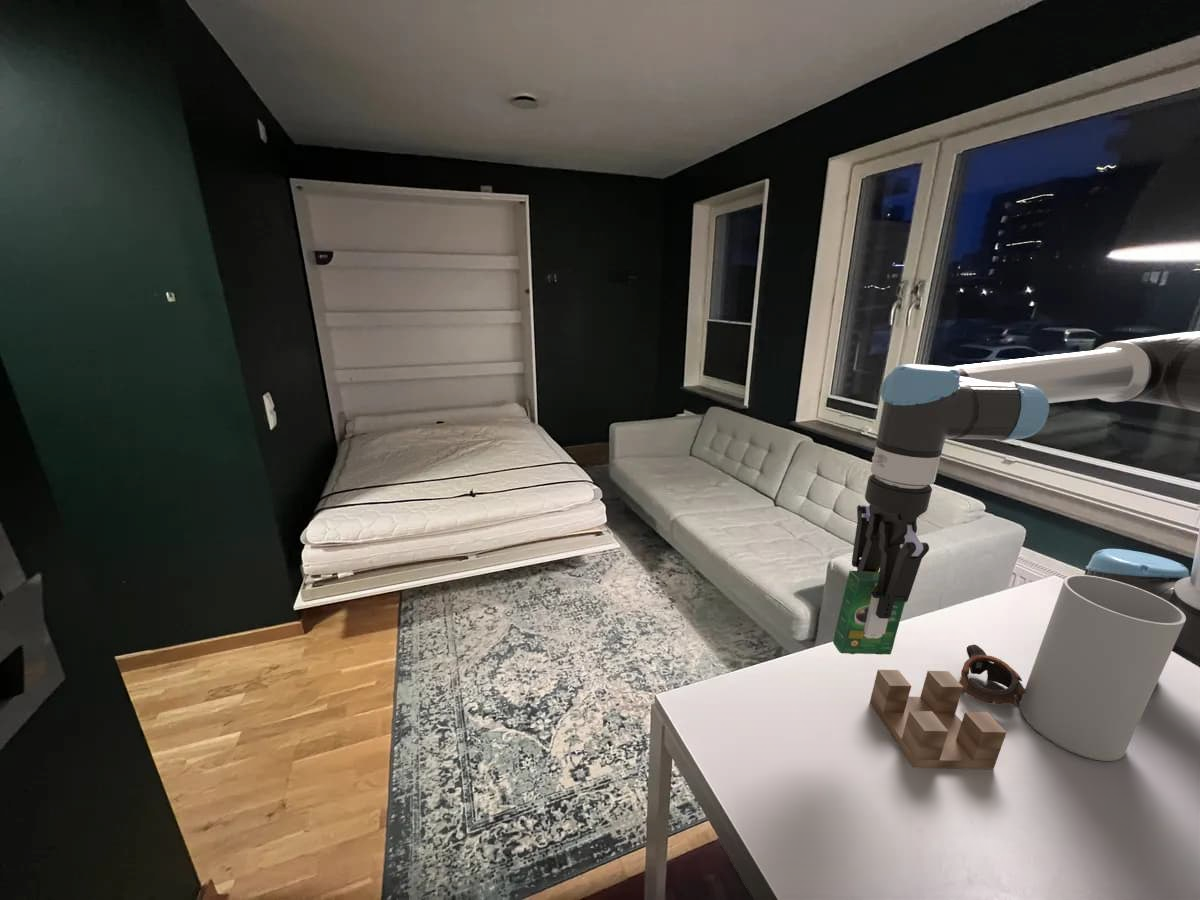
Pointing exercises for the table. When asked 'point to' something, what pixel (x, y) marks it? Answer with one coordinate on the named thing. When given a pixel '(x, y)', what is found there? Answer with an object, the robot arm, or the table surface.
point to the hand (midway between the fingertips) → (867, 624)
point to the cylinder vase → (1099, 665)
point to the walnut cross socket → (935, 723)
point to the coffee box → (863, 618)
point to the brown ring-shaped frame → (990, 678)
